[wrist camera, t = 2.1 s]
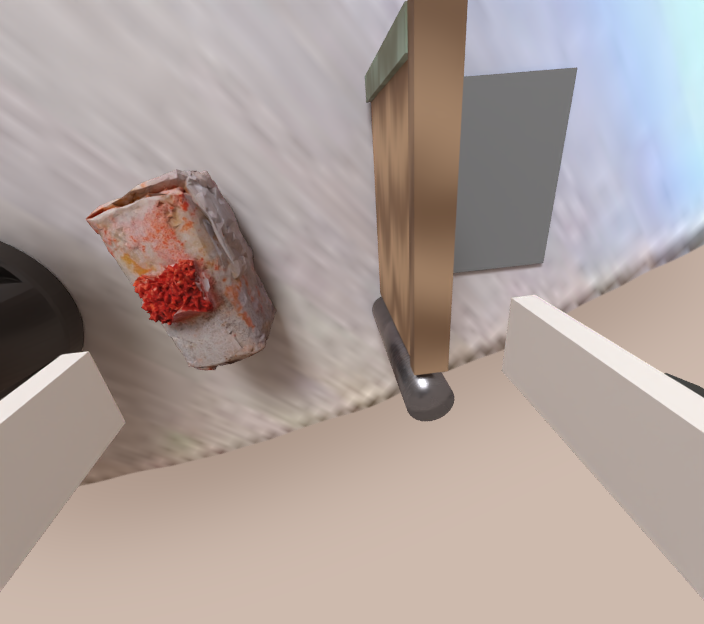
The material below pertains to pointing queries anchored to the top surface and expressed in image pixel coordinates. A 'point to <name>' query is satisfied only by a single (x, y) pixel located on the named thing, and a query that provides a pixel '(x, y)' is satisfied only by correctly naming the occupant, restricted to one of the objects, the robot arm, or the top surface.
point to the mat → (509, 166)
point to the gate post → (417, 390)
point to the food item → (189, 266)
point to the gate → (418, 171)
